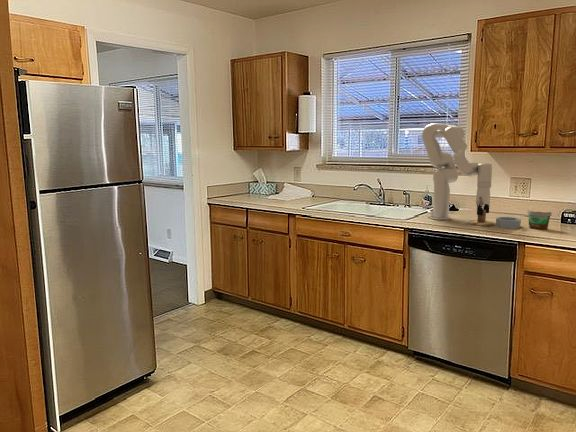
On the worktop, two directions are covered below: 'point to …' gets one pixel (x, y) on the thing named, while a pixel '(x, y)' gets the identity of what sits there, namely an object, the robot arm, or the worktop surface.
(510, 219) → the bowl
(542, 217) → the food container
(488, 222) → the lid
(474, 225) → the mat
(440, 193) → the robot arm
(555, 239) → the worktop surface
